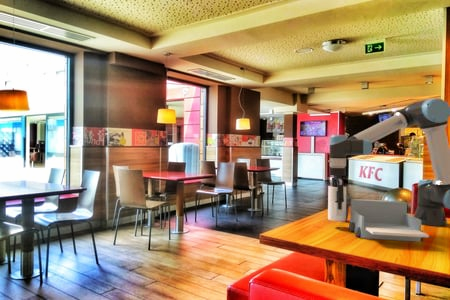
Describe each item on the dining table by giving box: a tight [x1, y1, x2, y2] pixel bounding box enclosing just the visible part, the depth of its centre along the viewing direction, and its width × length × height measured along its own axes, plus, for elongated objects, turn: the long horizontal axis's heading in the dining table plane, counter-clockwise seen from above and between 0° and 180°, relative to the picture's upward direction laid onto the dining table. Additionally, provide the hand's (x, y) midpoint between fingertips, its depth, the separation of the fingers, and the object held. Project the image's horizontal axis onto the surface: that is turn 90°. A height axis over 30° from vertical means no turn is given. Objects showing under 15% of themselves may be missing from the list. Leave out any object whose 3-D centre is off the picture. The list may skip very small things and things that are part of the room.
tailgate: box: [366, 227, 430, 238], centre depth 134 cm, size 21×1×9 cm
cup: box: [327, 184, 347, 222], centre depth 158 cm, size 8×8×16 cm
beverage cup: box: [342, 191, 352, 223], centre depth 173 cm, size 7×7×20 cm
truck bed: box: [348, 198, 425, 243], centre depth 148 cm, size 27×18×14 cm, turn 83°
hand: (337, 214), depth 158 cm, fingers closed on cup, 8 cm apart
